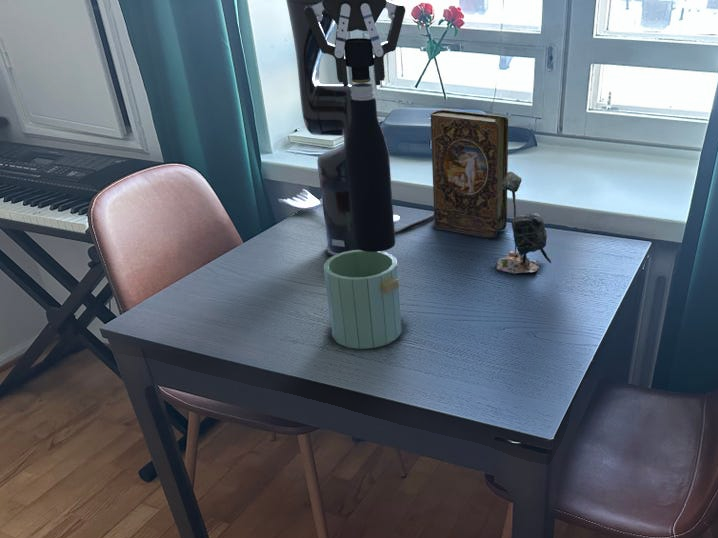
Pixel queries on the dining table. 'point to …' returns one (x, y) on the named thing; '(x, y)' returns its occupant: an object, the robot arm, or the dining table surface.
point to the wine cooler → (363, 298)
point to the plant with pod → (523, 235)
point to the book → (469, 171)
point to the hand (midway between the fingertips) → (361, 84)
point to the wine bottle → (367, 157)
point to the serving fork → (310, 203)
